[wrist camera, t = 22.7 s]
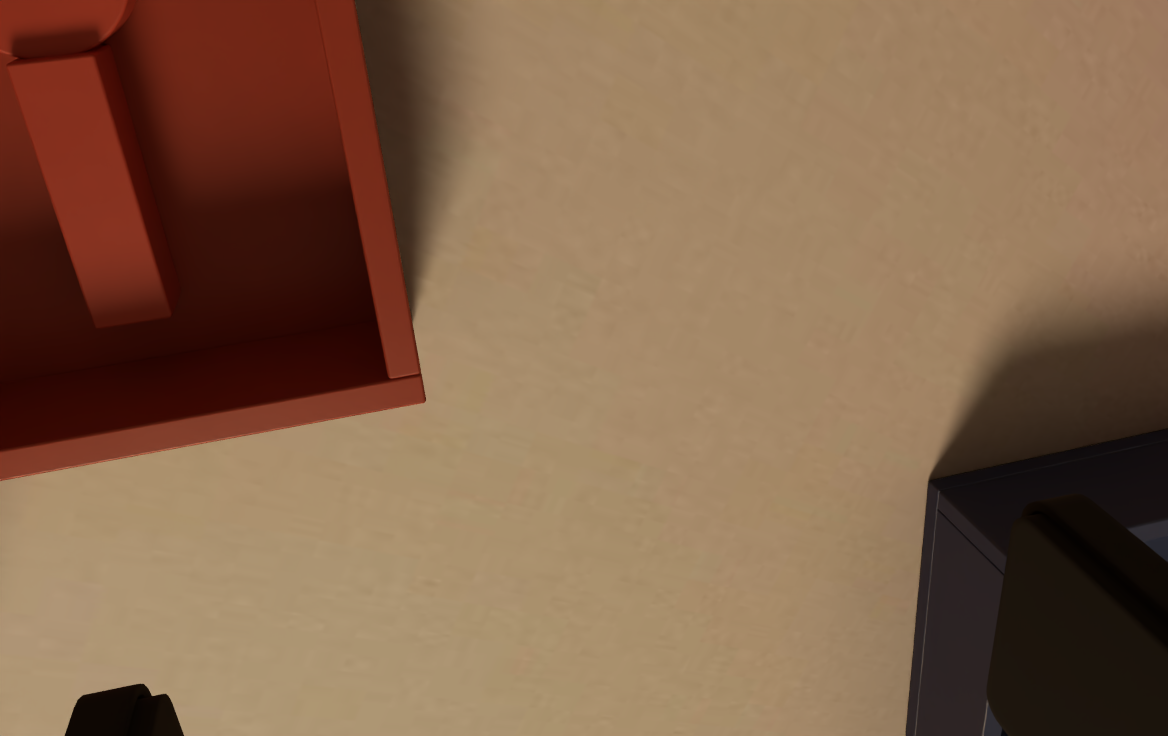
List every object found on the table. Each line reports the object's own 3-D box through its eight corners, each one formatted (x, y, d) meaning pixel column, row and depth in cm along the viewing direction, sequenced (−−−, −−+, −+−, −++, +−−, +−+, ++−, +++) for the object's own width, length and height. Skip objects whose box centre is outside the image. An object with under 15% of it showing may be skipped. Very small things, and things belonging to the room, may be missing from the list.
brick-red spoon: (227, 284, 22) (220, 310, 21) (62, 311, 22) (43, 338, 20) (110, -156, 18) (92, -161, 17) (-97, -139, 18) (-134, -143, 16)
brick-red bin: (-380, -266, 17) (-575, -313, 13) (298, -304, 19) (291, -354, 15) (-77, 414, 23) (-153, 510, 19) (412, 330, 25) (426, 403, 21)
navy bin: (927, 480, 31) (1007, 556, 27) (1233, 413, 33) (1345, 476, 29) (901, 776, 37) (963, 870, 33) (1161, 704, 39) (1246, 786, 35)
